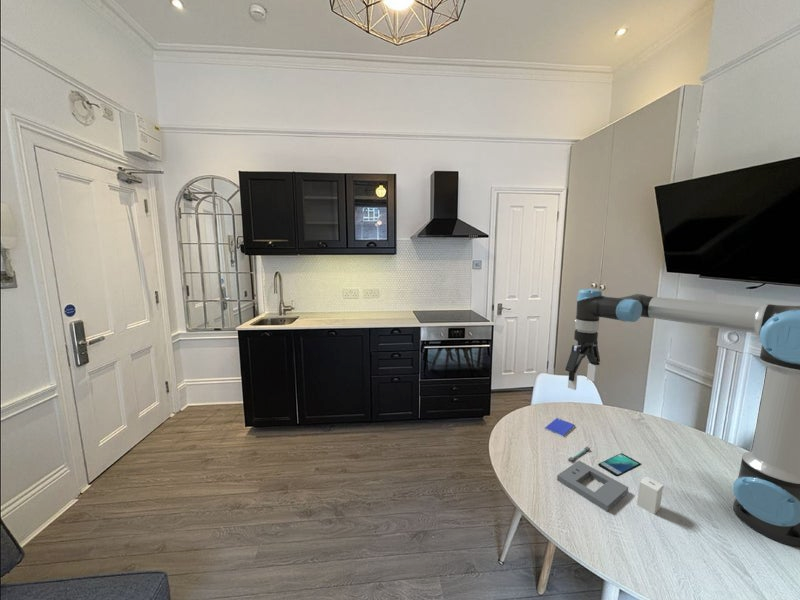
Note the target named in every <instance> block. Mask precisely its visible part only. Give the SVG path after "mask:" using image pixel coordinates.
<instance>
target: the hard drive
mask: <svg viewBox="0 0 800 600" xmlns="http://www.w3.org/2000/svg"><path fill="white" fill-rule="evenodd" d="M575 427H576V424H575V423H571V422H570V421H566V420H564V419H561V418H559V417H555V419H553V420H552V421H551V422H549V424H547V425H546V426H545V427H544V430H545V431H547V432H549V431H550V432H549V433H552V434H554V435H557V436H559V437H562V438H564V437H566V436H567V435H568V434H569V433H570V432H571V431H572V430H573V429H574V428H575Z"/></svg>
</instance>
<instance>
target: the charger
mask: <svg viewBox="0 0 800 600" xmlns="http://www.w3.org/2000/svg"><path fill="white" fill-rule="evenodd" d="M663 489H664V484H662V483H660V482H659V481H656V480H655V479H652V478H651V477H648V476H645V477H643V478H642V479H641V480H640V481H639V483H638V491H637V492H638V493H637V501H636V505H637V506H638V507H640V508H642V509H644V510H645V511H647V512H648V513H651V514H652V515H656V513H657V512H659V510H660V509H661V504H662V496H663V492H664V491H663Z"/></svg>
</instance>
